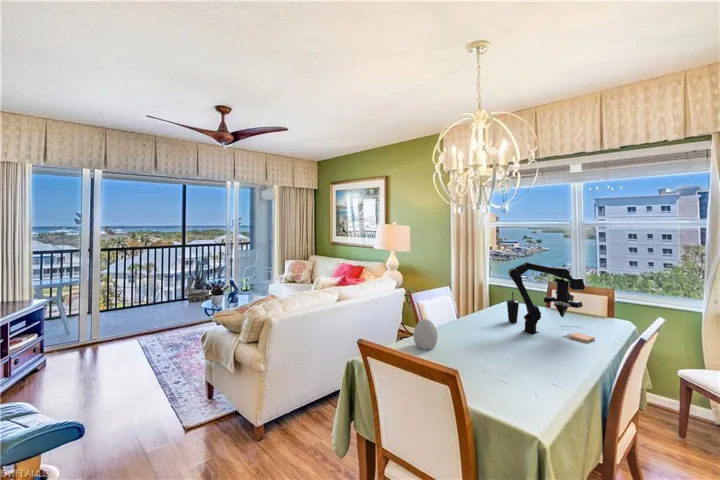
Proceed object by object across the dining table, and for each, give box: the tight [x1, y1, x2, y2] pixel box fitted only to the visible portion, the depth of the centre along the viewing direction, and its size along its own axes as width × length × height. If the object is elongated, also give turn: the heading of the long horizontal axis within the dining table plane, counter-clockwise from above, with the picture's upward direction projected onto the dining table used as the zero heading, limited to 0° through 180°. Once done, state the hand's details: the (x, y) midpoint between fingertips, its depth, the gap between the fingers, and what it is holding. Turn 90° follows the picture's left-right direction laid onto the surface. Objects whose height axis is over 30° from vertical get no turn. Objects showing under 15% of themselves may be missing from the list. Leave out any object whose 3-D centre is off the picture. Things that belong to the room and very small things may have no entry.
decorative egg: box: [413, 318, 438, 351], centre depth 174 cm, size 12×12×15 cm
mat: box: [562, 333, 596, 344], centre depth 182 cm, size 9×13×1 cm
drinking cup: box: [506, 291, 520, 324], centre depth 215 cm, size 8×8×20 cm
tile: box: [568, 332, 596, 344], centre depth 181 cm, size 8×2×9 cm
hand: (562, 316), depth 189 cm, fingers closed
